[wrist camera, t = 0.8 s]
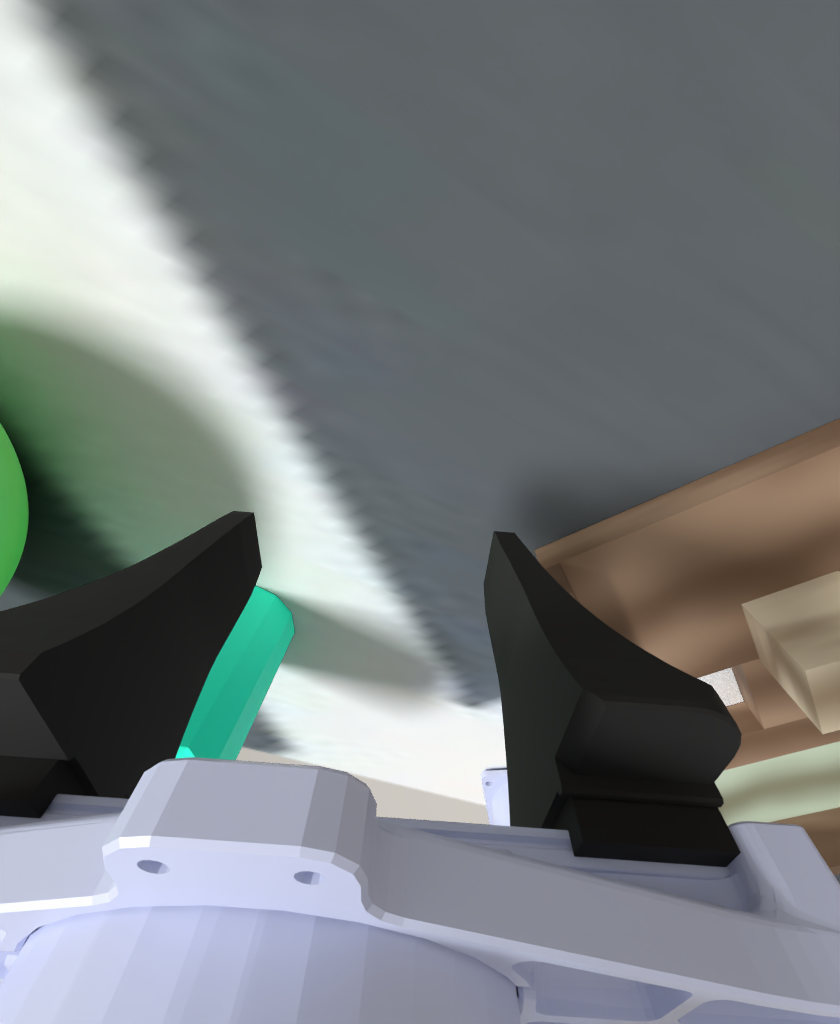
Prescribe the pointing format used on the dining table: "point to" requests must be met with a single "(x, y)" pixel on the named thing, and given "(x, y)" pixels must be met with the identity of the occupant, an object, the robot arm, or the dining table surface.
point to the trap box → (729, 609)
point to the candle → (239, 679)
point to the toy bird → (11, 510)
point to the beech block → (802, 645)
